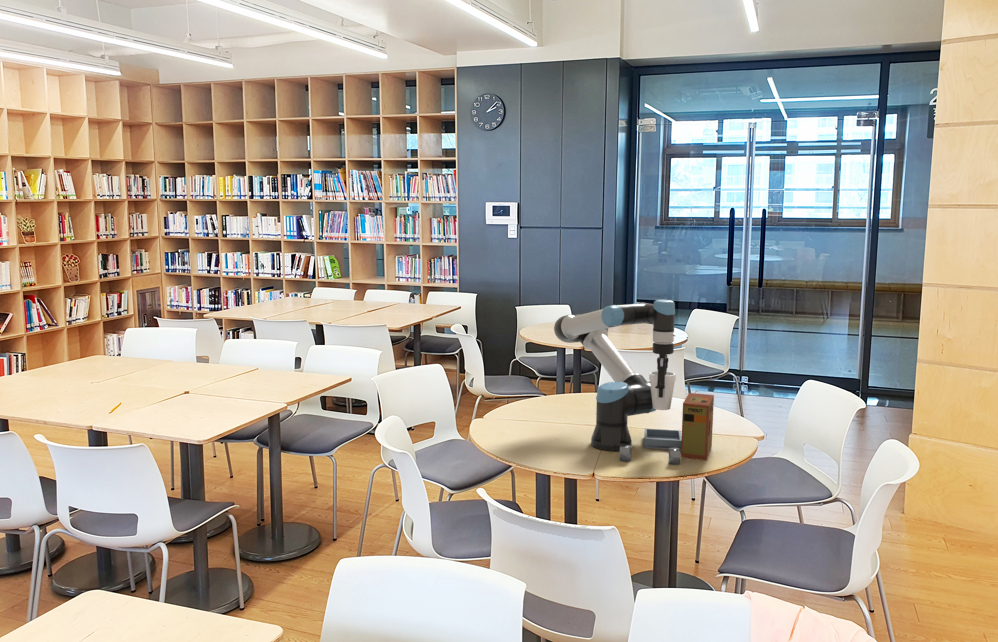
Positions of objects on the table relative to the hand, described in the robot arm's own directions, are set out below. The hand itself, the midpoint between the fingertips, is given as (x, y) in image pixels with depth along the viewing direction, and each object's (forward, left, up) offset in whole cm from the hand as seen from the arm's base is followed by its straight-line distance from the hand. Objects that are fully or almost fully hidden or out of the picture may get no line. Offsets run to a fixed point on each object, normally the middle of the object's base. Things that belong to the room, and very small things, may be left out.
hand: (661, 402), depth 276 cm
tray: (+1, +7, -18) cm, 19 cm away
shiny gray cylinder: (+5, -16, -18) cm, 24 cm away
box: (+13, -2, -18) cm, 22 cm away
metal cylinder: (-12, -16, -18) cm, 27 cm away
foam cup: (0, 0, -2) cm, 2 cm away
